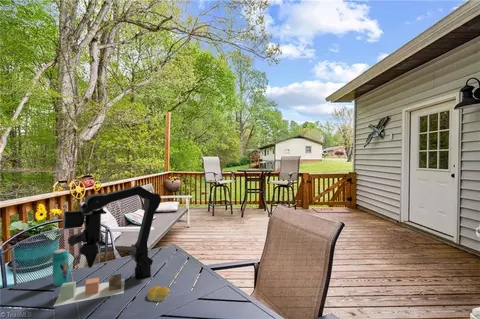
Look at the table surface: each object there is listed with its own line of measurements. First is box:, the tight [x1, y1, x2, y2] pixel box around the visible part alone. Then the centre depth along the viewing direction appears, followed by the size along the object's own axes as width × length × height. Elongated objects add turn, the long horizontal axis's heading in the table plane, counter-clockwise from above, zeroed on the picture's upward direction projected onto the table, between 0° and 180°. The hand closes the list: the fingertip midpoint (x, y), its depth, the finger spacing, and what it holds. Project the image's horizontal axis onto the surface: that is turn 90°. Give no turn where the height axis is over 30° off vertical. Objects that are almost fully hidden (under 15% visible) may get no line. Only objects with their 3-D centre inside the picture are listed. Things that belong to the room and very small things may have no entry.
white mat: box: [52, 278, 126, 307], centre depth 106 cm, size 24×13×1 cm, turn 113°
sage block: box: [59, 281, 77, 300], centre depth 103 cm, size 4×4×4 cm
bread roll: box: [146, 285, 172, 302], centre depth 103 cm, size 8×9×4 cm
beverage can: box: [52, 248, 70, 287], centre depth 114 cm, size 6×6×15 cm
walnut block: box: [108, 273, 122, 291], centre depth 110 cm, size 4×4×4 cm
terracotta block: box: [84, 276, 100, 295], centre depth 106 cm, size 4×4×4 cm
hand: (91, 263), depth 106 cm, fingers open, 9 cm apart
